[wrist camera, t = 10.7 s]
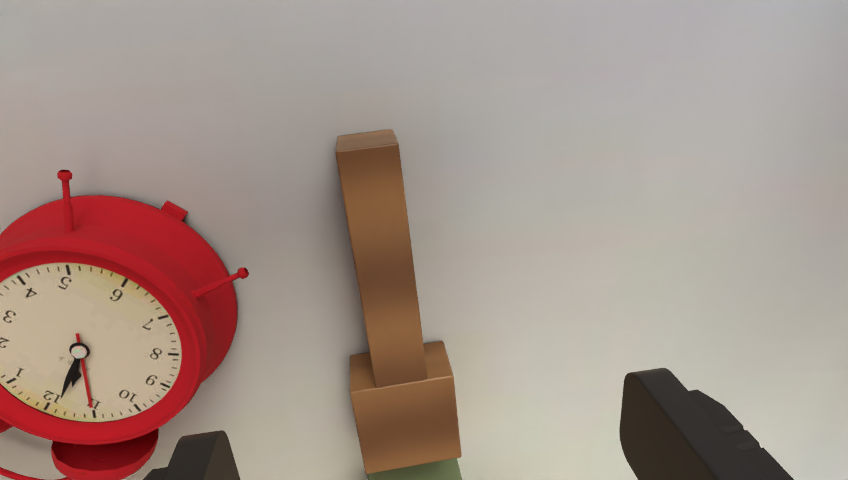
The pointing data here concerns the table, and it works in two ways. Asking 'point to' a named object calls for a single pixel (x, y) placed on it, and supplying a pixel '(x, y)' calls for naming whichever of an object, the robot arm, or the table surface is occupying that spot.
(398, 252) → the wooden stamp
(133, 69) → the table surface
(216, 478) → the robot arm
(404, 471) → the block
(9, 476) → the alarm clock
